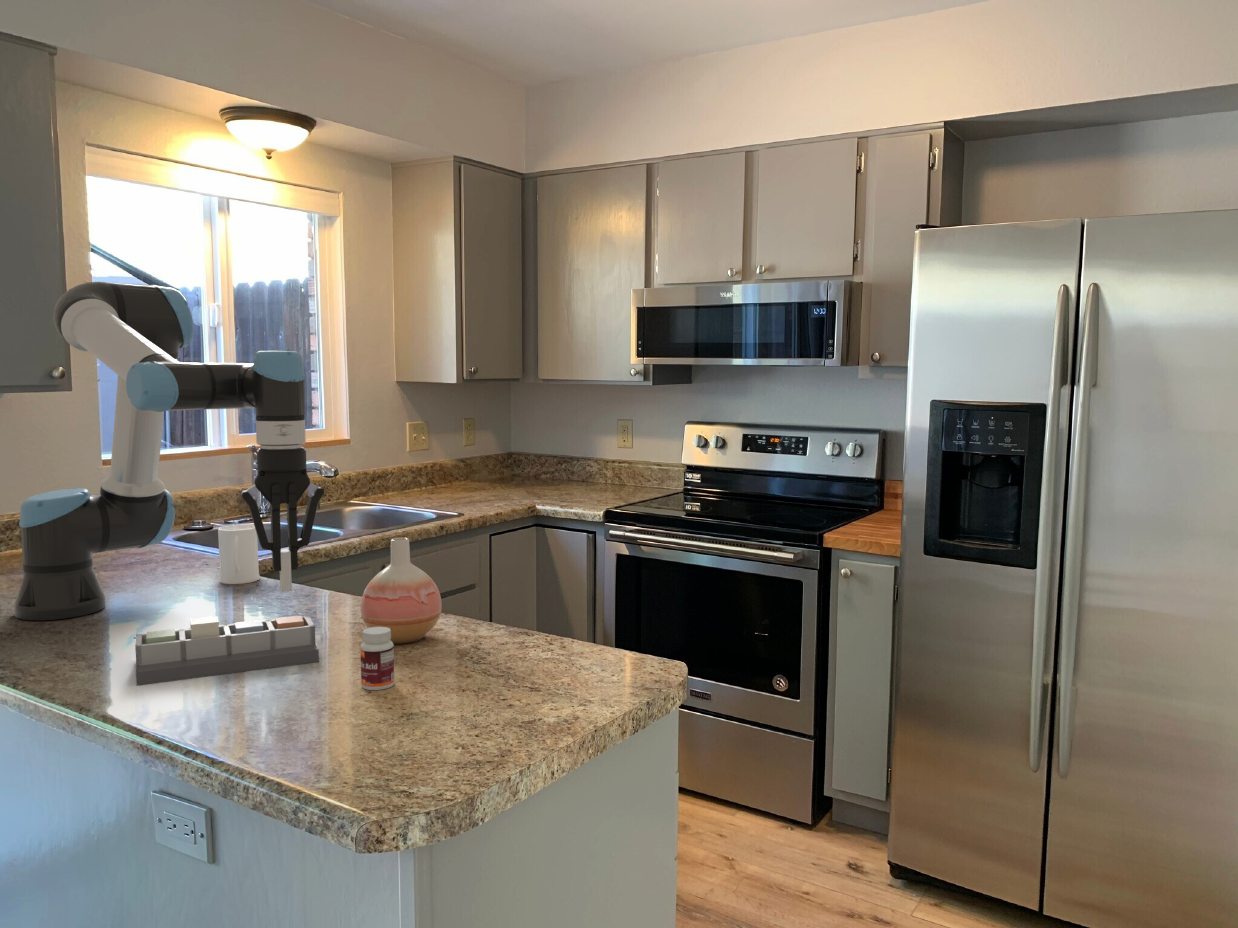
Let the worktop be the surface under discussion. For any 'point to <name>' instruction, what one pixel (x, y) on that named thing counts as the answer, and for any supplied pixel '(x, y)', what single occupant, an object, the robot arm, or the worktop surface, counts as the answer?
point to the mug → (238, 554)
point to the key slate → (248, 626)
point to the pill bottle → (377, 659)
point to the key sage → (160, 636)
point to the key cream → (204, 627)
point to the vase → (401, 598)
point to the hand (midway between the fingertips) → (285, 589)
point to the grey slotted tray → (224, 652)
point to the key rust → (288, 622)
